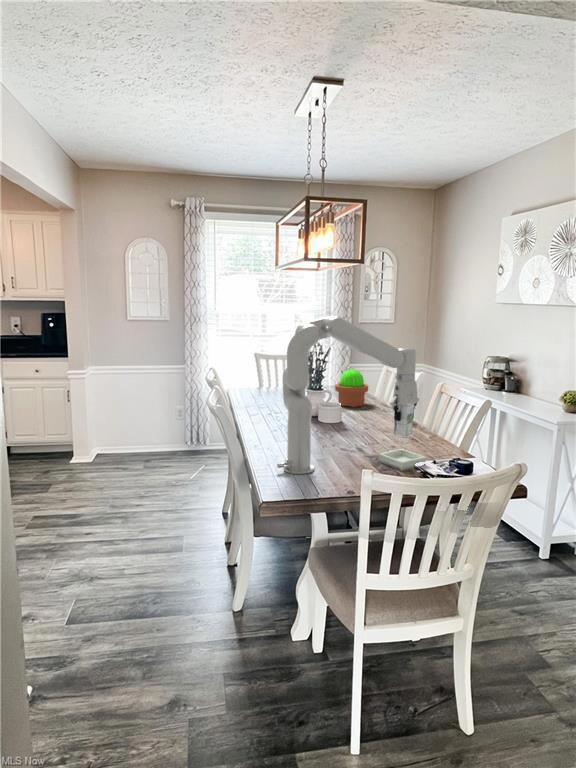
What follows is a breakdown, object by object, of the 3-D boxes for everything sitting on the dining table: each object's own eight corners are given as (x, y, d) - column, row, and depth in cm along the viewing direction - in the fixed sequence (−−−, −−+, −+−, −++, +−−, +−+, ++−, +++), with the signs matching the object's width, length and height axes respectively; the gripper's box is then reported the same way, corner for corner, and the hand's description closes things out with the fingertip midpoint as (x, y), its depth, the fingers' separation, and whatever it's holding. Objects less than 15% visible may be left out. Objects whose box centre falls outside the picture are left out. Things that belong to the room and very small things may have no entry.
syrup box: (399, 431, 207) (401, 399, 205) (412, 434, 203) (414, 400, 201) (393, 434, 203) (395, 401, 200) (406, 437, 199) (408, 403, 197)
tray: (402, 470, 196) (402, 462, 195) (378, 461, 207) (378, 453, 207) (425, 464, 203) (426, 457, 202) (401, 456, 215) (401, 448, 214)
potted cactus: (363, 409, 309) (365, 371, 305) (331, 406, 317) (331, 369, 312) (370, 402, 329) (371, 367, 325) (339, 400, 337) (340, 365, 333)
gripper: (397, 380, 191) (395, 423, 194) (426, 377, 200) (424, 418, 203) (384, 378, 197) (382, 420, 200) (413, 374, 207) (411, 414, 210)
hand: (403, 418), depth 202 cm, fingers closed on syrup box, 7 cm apart
